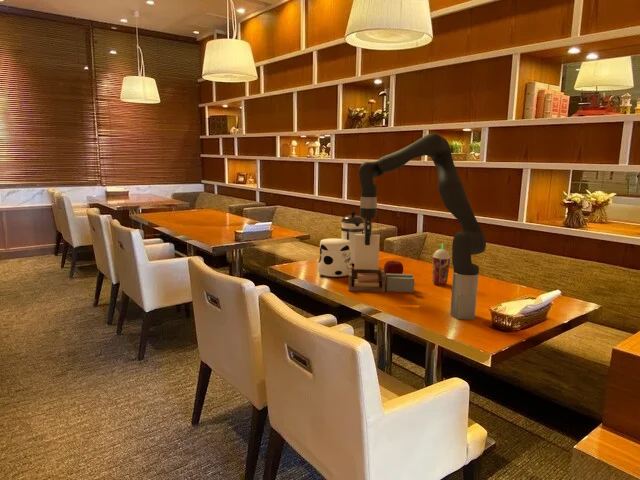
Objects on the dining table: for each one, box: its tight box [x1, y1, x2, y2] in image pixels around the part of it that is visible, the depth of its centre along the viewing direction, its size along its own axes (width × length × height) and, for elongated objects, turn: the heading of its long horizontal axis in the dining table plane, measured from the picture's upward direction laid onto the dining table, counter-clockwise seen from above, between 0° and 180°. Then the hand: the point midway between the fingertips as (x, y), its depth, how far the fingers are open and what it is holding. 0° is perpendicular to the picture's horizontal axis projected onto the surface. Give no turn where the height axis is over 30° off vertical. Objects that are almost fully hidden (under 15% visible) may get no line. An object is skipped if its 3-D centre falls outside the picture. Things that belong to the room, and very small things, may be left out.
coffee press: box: [340, 211, 365, 264], centre depth 254 cm, size 17×16×30 cm
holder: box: [385, 273, 415, 295], centre depth 205 cm, size 8×12×7 cm, turn 87°
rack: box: [348, 267, 386, 293], centre depth 206 cm, size 14×16×8 cm
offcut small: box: [357, 273, 379, 283], centre depth 204 cm, size 5×9×3 cm, turn 91°
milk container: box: [317, 237, 353, 279], centre depth 228 cm, size 17×17×18 cm
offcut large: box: [354, 279, 379, 287], centre depth 204 cm, size 6×11×4 cm, turn 87°
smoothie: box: [432, 242, 452, 287], centre depth 216 cm, size 8×8×20 cm
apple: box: [383, 259, 404, 277], centre depth 222 cm, size 10×10×10 cm
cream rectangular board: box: [353, 233, 381, 270], centre depth 208 cm, size 2×11×16 cm, turn 87°
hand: (367, 244), depth 207 cm, fingers closed on cream rectangular board, 2 cm apart
